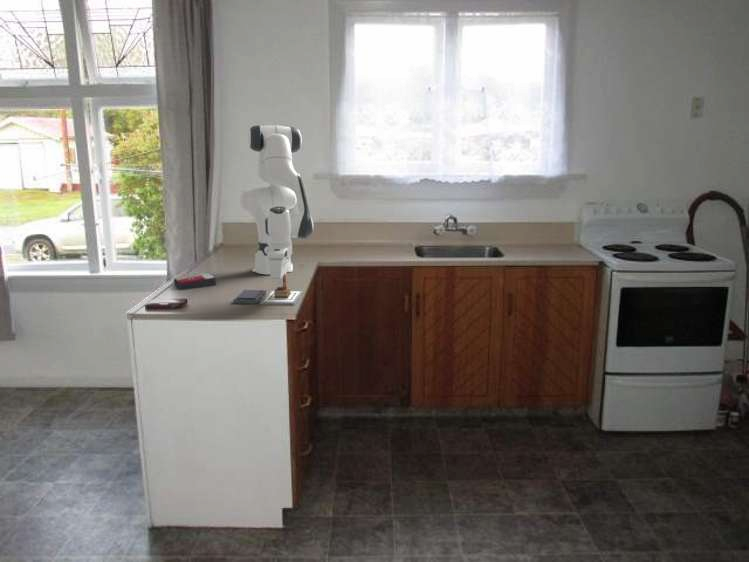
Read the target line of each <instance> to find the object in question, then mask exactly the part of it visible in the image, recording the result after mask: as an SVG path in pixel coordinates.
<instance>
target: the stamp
mask: <svg viewBox="0 0 749 562" xmlns="http://www.w3.org/2000/svg"><path fill="white" fill-rule="evenodd" d="M282 279H283V286H282V287H278V286H277V288H276V289H275V290H273V291H274V296H275V298H288V297H289V296H290V294H291V291H292V290H291V287H287V272H286V273H285V274H284V275H283V278H282Z"/></svg>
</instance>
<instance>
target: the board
mask: <svg viewBox="0 0 749 562" xmlns="http://www.w3.org/2000/svg"><path fill="white" fill-rule="evenodd" d="M274 291H275V290H270V291H269V292H268V294H266V295H265V296H264V297H263V298H262V299H261V300H260V301H259V303H260V305H264V306H265V305H268V306H271V305H273V306H274V305H275V306H280V305H281V306H282V305H283V306H286V305H287V306H295V305H296V304H297V302H298V301H299V299H300V298H301V297H302V296H303V294H304V290H290V291H291V294H290V296H289V297H288V298H275V296H274Z"/></svg>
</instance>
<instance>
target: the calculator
mask: <svg viewBox="0 0 749 562" xmlns="http://www.w3.org/2000/svg"><path fill="white" fill-rule="evenodd" d="M173 283H174V286H175V287H176V288H178V289H179V290H180V291H183V290H191V289H198V288H199V289H200V288H203V287H206V288H208V287H215V286H217V279H216V277H215V276H213V275H212V274H210V273H209V272H204V273H195V274H189V275H183V276H178V277H177V276H175V277H174V278H173Z"/></svg>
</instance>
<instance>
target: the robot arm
mask: <svg viewBox="0 0 749 562" xmlns="http://www.w3.org/2000/svg"><path fill="white" fill-rule="evenodd" d="M247 143H248V146H249V148H250V149H251V150H252V151H254V152H258V160H257V161H258V162H257V163H258V164H257V175H258V177H259V178H260V179H261V180H262V181H263V182H265V183H268V184H269V186H267V187H266V186H263V187H259V186H258V187H252V188H250V187H249V188H247V189H244V190H243V191H242V192H241V194H240V198H239V203H240V205H241V207H242V209H243V210H244V211H245V212H246V213H248V214H249V215H250V216H251V217H252V218H253V219H254V221H255V224H256V226H257V236H258V241H257V249H258V251H257V252H256V253H255V255H254V258H255V259H254V260H255V261H254V262H255V263H254V264H255V265H254V266H255V267H254V268H252V270H251V271H252V273H253V272H254V273H257V274H260V275H270V278H271V279H272V280H276V281H277V288H278V287H282V286H283V279H282V278H283V275H284V274H285V273H286V274H287V273H292V272H293V269H294V268H293V267H294V266H293V265H294V264H293V263H292V262H291V259H292V258H291V256H292V255H293V241H292V238H293V239H294V238H295V239H296V238H297V239H307V238H309V237H310V236H311V235H312V234H313V233H314V228H315V227H314V226H315V225H314V221H313V218H312V215H311V213H310V212H311V211H310V208H309V204H308V198H307V194H306V190H305V186H304V182H303V179H302V175H300V173H298V172H296V170H295V168H294V166H293V153H296V152H298V151H299V150H300V149H301V146H302V143H303V138H302V134H301V131H300V129H299V128H297V127H294V126H290V127H289V126H285V125H277V124H276V125H260V124H259V125H253V126H251V127H250V128H249V130H248V133H247ZM296 205H297V207H298V212H296V213H295V212H291V213H290V210H291V209H293V208H295V207H296Z"/></svg>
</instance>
